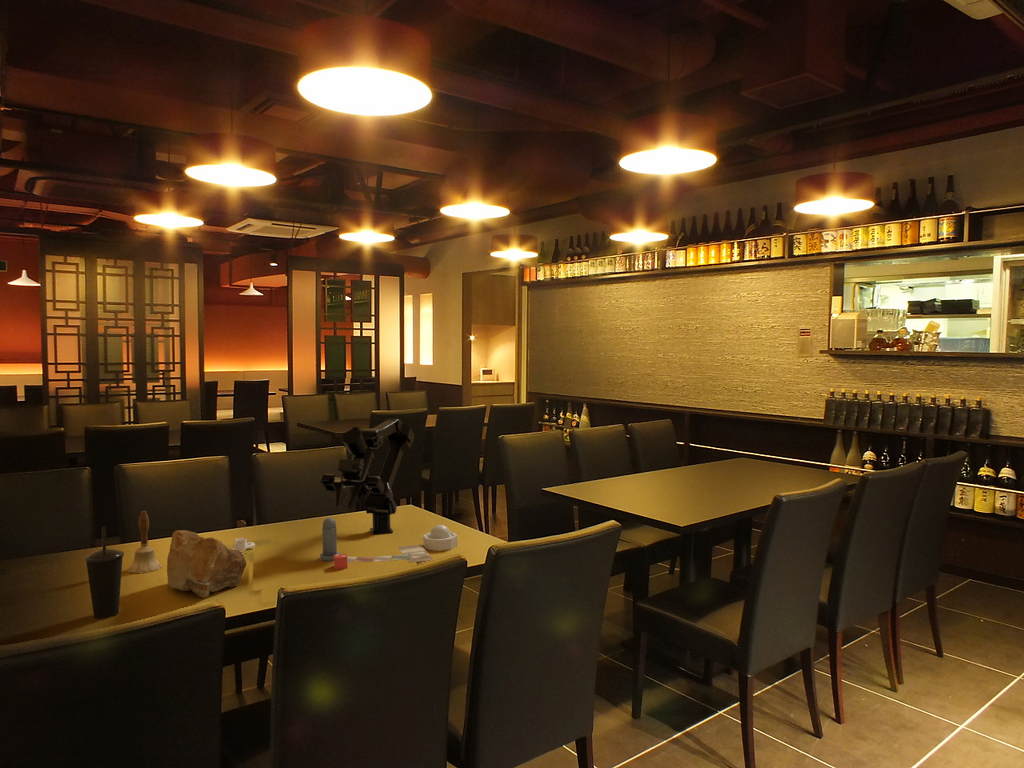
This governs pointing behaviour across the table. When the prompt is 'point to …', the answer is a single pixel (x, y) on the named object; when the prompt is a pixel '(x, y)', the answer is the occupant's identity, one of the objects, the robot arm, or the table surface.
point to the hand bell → (144, 550)
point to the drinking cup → (105, 579)
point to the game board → (409, 552)
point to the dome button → (440, 532)
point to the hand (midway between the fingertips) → (343, 508)
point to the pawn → (329, 540)
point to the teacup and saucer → (242, 544)
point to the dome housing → (440, 542)
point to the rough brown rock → (202, 564)
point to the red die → (340, 561)
